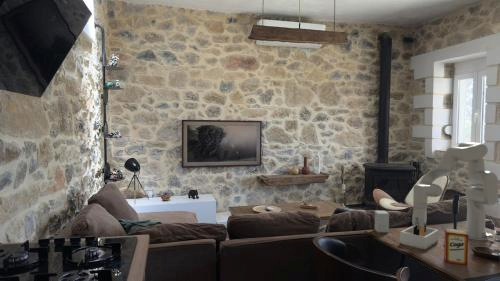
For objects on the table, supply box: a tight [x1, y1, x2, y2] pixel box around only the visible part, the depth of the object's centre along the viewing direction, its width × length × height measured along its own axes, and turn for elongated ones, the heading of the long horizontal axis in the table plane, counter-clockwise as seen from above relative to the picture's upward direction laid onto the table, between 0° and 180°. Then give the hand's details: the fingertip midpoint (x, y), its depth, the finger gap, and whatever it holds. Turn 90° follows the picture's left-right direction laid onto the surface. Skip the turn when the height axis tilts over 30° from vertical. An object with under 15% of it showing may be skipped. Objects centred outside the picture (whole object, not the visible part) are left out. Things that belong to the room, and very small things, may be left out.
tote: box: [399, 225, 439, 250], centre depth 204 cm, size 20×14×7 cm
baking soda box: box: [443, 228, 469, 266], centre depth 175 cm, size 10×6×16 cm
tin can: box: [417, 223, 424, 237], centre depth 204 cm, size 5×5×10 cm
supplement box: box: [374, 210, 390, 233], centre depth 226 cm, size 7×7×13 cm
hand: (419, 233), depth 204 cm, fingers open, 9 cm apart
